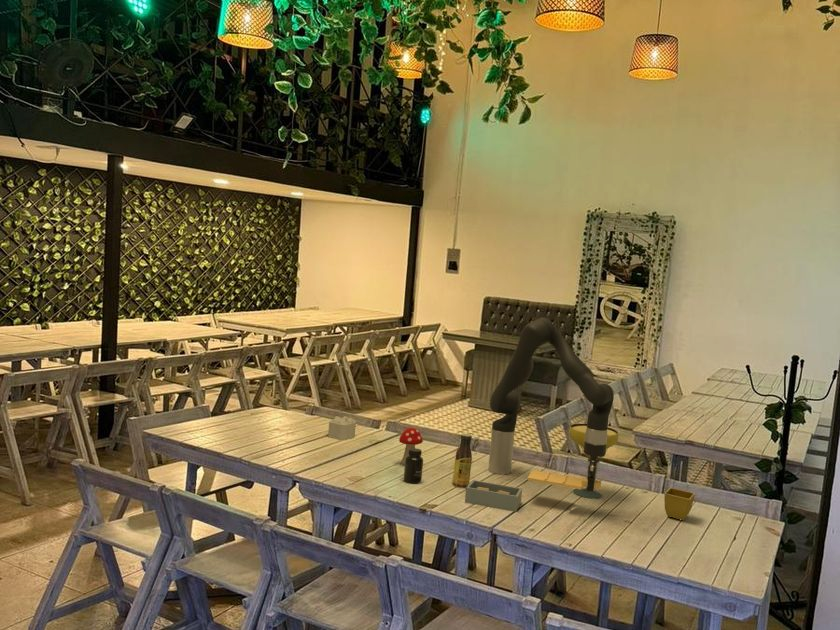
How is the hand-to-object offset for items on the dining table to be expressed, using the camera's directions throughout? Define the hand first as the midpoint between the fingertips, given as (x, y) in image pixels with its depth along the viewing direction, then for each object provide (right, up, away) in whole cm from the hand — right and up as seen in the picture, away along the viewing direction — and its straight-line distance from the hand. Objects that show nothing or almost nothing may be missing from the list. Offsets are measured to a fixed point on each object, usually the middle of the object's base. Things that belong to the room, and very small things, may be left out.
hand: (590, 489), depth 255 cm
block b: (-31, -5, 0) cm, 32 cm away
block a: (-38, -4, +2) cm, 38 cm away
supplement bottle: (-63, -2, +20) cm, 66 cm away
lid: (-9, +2, +3) cm, 9 cm away
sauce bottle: (-44, -4, +17) cm, 48 cm away
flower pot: (+31, -11, +3) cm, 34 cm away
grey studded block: (-95, +5, +77) cm, 122 cm away
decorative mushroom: (-64, 0, +41) cm, 76 cm away
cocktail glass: (+4, -7, +22) cm, 24 cm away
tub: (-34, -6, 0) cm, 35 cm away
